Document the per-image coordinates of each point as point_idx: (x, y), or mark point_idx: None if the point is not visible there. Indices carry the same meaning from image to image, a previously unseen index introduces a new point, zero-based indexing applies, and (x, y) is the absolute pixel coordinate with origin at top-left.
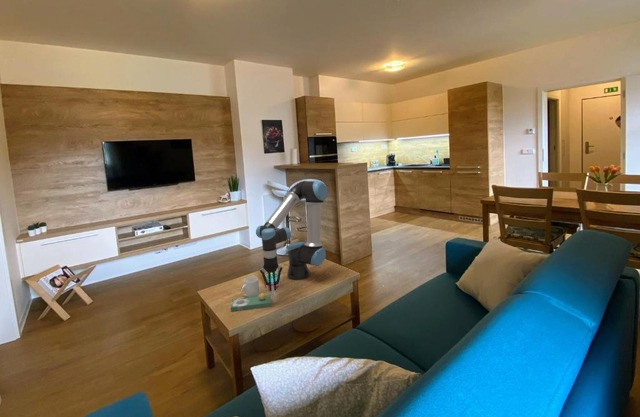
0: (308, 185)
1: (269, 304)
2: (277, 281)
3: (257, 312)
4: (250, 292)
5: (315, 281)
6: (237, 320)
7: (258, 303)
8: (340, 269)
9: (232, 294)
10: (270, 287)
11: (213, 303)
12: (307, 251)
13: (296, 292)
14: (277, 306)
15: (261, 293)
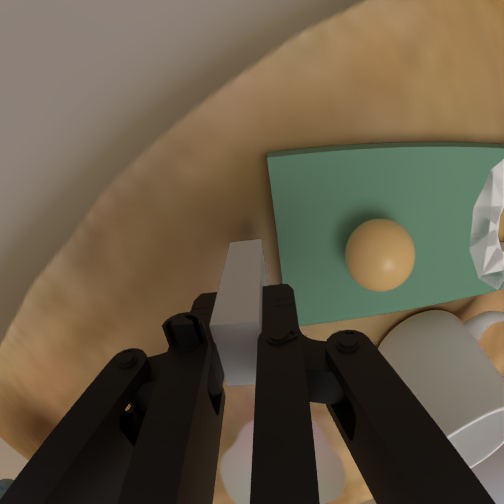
0: None
1: (286, 152)
2: (120, 385)
3: (388, 67)
4: (460, 341)
5: None
6: (495, 10)
7: (402, 160)
8: (25, 455)
9: (501, 366)
10: (275, 317)
11: None
12: None
13: (104, 356)
14: (207, 148)
15: (391, 279)
